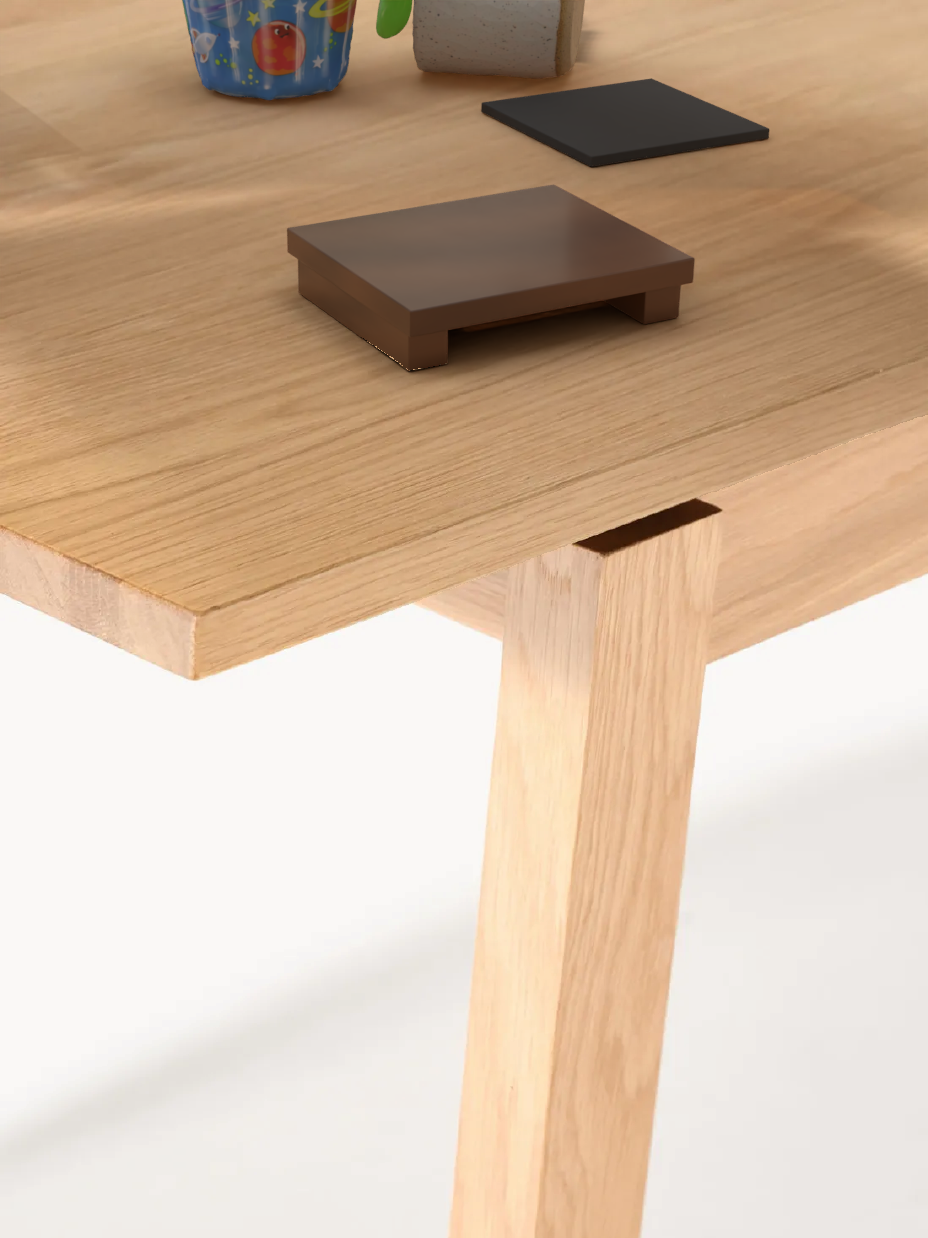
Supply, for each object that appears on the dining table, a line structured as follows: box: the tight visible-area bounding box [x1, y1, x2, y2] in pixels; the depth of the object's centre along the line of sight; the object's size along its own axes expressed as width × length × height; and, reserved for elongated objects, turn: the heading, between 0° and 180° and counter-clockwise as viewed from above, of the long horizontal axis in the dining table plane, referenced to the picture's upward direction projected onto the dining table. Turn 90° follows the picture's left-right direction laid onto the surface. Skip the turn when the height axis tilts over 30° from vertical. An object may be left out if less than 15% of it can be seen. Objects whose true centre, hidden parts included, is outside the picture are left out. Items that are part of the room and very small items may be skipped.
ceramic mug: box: [412, 0, 586, 79], centre depth 112 cm, size 11×8×8 cm
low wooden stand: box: [286, 184, 696, 370], centre depth 82 cm, size 10×12×2 cm
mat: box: [480, 78, 770, 168], centre depth 104 cm, size 10×10×1 cm
